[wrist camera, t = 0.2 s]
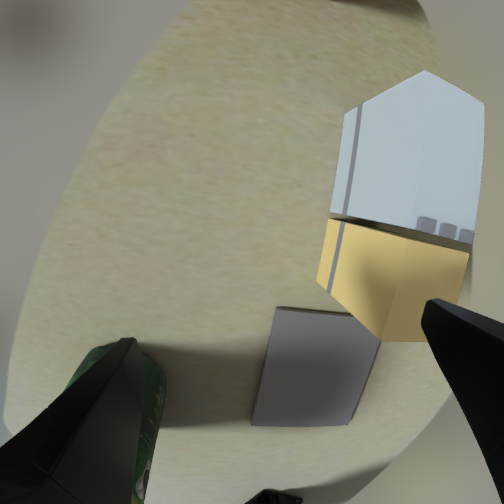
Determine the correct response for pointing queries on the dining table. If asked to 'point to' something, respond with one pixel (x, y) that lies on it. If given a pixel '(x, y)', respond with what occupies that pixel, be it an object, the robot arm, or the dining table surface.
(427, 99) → the knobbed pale slab
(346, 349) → the mat
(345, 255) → the block
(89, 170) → the dining table surface
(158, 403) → the coffee jar
